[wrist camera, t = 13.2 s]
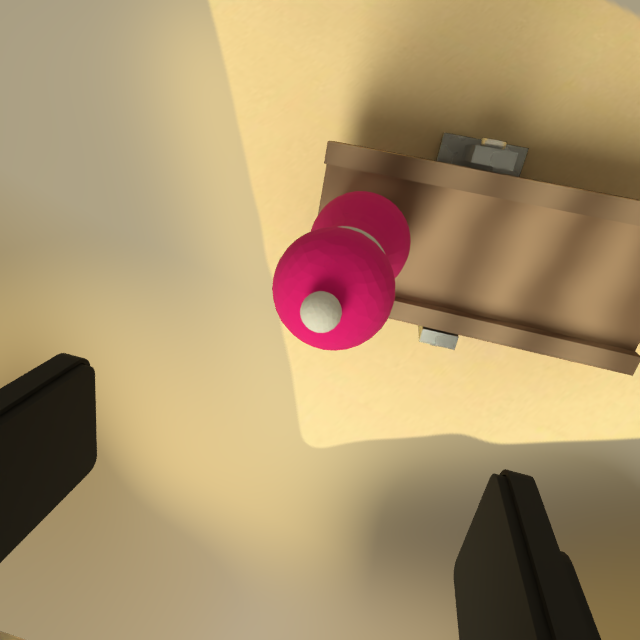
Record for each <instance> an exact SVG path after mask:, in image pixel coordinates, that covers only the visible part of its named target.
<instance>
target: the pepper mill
mask: <svg viewBox="0 0 640 640" xmlns="http://www.w3.org/2000/svg"><path fill="white" fill-rule="evenodd" d="M410 245H411V238H410V231H409V226H408V224H407V221H406V219H405V217H404V215H403V214H402V212H401V211H400V210H399V208H398V207H397V206H396V205H395V204H394V203H392V202H391V201H390V200H388V199H387V198H385V197H384V196H381V195H379V194H376V193H372V192H367V191H354V192H349V193H345V194H343V195H341V196H338V197H336V198H335V199H333V200H332V201H330V202H329V203H328V204H327V205H326V206H325V207H324V208H323V209H322V211H321V212H320V213H319V215H318V216H317V218H316V220H315V222H314V224H313V226H312V229H311V232H309V233H307V234H305V235H303V236H301V237H300V238H298V239H297V240H296V241H295V242H294V243H292V244H291V245H290V246H289V247H288V248H287V250H286V251H285V253H284V254H283V256H282V257H281V259H280V260H279V263H278V265H277V267H276V270H275V274H274V278H273V287H272V290H273V299H274V303H275V307H276V311H277V313H278V315H279V317H280V319H281V321H282V322H283V323H284V325H285V326H286V327H287V329H288V330H289V331H290V332H291V333H292V334H293V335H294V336H296V337H297V338H298V339H300V340H301V341H302V342H304V343H306V344H309V345H311V346H313V347H316V348H320V349H323V350H344V349H349V348H352V347H355V346H358V345H360V344H362V343H363V342H365V341H367V340H369V339H370V338H372V337H373V336H374V335H375V334H376V333H377V332H378V331H379V330H380V329H381V328H382V326H383V325H384V324H385V322H386V321H387V319H388V317H389V315H390V313H391V310H392V307H393V304H394V301H395V278H396V277H397V276H398V274H399V273H400V272H401V270H402V269H403V267H404V265H405V263H406V261H407V258H408V255H409V252H410Z"/></svg>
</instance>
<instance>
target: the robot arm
mask: <svg viewBox="0 0 640 640" xmlns="http://www.w3.org/2000/svg"><path fill="white" fill-rule="evenodd" d="M96 457H97V442H96V401H95V371H94V369H93V368H92V367H91V366H90V363H89V361H88V360H87V359H85V358H81V357H77V356H72V355H69V354H66V353H61V354H58V355H56V356H55V357H53V358H51V359H50V360H48V361H46V362H44V363H43V364H41V365H40V366H38V367H36V368H34V369H33V370H31V371H29V372H28V373H26V374H24V375H23V376H21V377H19V378H18V379H16V380H14V381H12V382H11V383H9V384H7V385H6V386H4V387H2V388H1V389H0V563H1V562H2V561H3V560H4V558H5V557H6V556H7V555H8V554H9V553H10V552H11V551H12V550H13V549H14V548H15V547H16V546H17V545H18V544H19V543H20V542H21V541H22V540H23V539H24V538H25V537H26V536H27V535H28V534H29V533H30V532H31V531H32V530H33V529H34V528H35V527H36V526H37V525H38V524H39V523H40V522H41V521H42V520H43V519H44V518H45V517H46V516H47V515H48V514H49V513H50V512H51V511H52V510H53V509H54V508H55V507H56V506H57V505H58V504H59V503H60V502H61V501H62V500H63V499H64V498H65V497H66V496H67V495H68V494H69V492H70V491H72V490H73V488H75V487H76V485H77V484H79V483H80V482H81V481H82V479H83V478H84V477H85V476H86V475H87V474H88V473H89V472H90V471H91V470H92V468H93V467H94V464H95V462H96V459H97V458H96ZM454 586H455V597H456V608H457V619H458V629H459V640H601V638H600V635H599V633H598V630H597V627H596V625H595V622H594V620H593V617H592V614H591V611H590V609H589V606H588V604H587V601H586V598H585V596H584V593H583V590H582V588H581V585H580V582H579V580H578V577H577V574H576V572H575V569H574V566H573V564H572V562H571V560H570V558H569V556H568V555H567V554H565V553H564V552H561V551H560V549H559V547H558V544H557V541H556V539H555V535H554V533H553V530H552V527H551V524H550V522H549V519H548V516H547V513H546V511H545V508H544V505H543V502H542V499H541V497H540V494H539V491H538V488H537V486H536V483H535V480H534V479H533V477H531V476H528V475H525V474H521V473H517V472H513V471H509V470H506V469H505V470H503V471H502V472H501V473H500V475H497V474H492V476H491V477H490V479H489V482H488V484H487V487H486V489H485V491H484V494H483V496H482V499H481V501H480V503H479V506H478V509H477V511H476V513H475V516H474V518H473V521H472V523H471V526H470V528H469V530H468V533H467V535H466V537H465V540H464V543H463V545H462V547H461V550H460V552H459V555H458V557H457V559H456V562H455V567H454ZM0 640H25V639H23V638H19V637H17V636H14V635H10V634H8V633H4V632H2V631H0Z"/></svg>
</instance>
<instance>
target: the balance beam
mask: <svg viewBox="0 0 640 640" xmlns="http://www.w3.org/2000/svg"><path fill="white" fill-rule="evenodd" d="M324 163H325V164H327V165H326V171H325V177H324V183H323V189H322V195H321V200H320V206H319V212H318V215H319V213H320V212H321V211H322V209H323V208H324V207H325V206H326V205H327V204H328V203H329V202H330V201H332V200H333V199H335V198H336V197H338V196H341V195H343V194H345V193H349V192H354V191H367V192H372V193H376V194H379V195H381V196H384V197H385V198H387V199H388V200H390V201H391V202H392V203H394V204H395V205H396V206H397V207H398V208H399V210H400V211H401V212H402V214H403V215H404V217H405V219H406V221H407V224H408V226H409V231H410V238H411V245H410V252H409V255H408V258H407V261H406V263H405V265H404V267H403V269H402V270H401V272H400V273H399V274H398V276H397V277H396V278H395V301H394V304H393V307H392V310H391V313H390V315H389V317H388V318H390V319H394V320H398V321H402V322H407V323H411V324H415V325H419V326H424V327H428V328H432V329H436V330H441V331H445V332H449V333H453V334H458V335H462V336H466V337H470V338H475V339H479V340H483V341H487V342H492V343H496V344H500V345H505V346H509V347H513V348H517V349H522V350H526V351H530V352H534V353H539V354H543V355H547V356H551V357H556V358H560V359H564V360H568V361H573V362H577V363H581V364H585V365H590V366H594V367H598V368H602V369H607V370H611V371H615V372H620V373H624V374H628V375H632V376H633V374H634V372H635V370H636V368H637V366H638V364H639V363H640V356H639V355H638V354H637V353H636V352H635V350H636V348H637V346H638V344H639V342H640V200H636V199H631V198H626V197H620V196H615V195H610V194H605V193H600V192H595V191H589V190H584V189H579V188H574V187H569V186H563V185H558V184H553V183H548V182H543V181H538V180H532V179H527V178H522V177H517V176H512V175H506V174H501V173H496V172H491V171H486V170H480V169H475V168H470V167H465V166H460V165H455V164H449V163H444V162H439V161H434V160H429V159H423V158H418V157H413V156H408V155H403V154H397V153H392V152H387V151H382V150H377V149H372V148H366V147H361V146H356V145H351V144H346V143H340V142H335V141H328V143H327V149H326V155H325V161H324Z"/></svg>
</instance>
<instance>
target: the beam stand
mask: <svg viewBox="0 0 640 640" xmlns="http://www.w3.org/2000/svg"><path fill="white" fill-rule="evenodd" d="M528 149H529V148H524V147H518V146H513V145H508V144H507V142H504V141H499V140H494V139H488V138H482V140H481V139H475V138H470V137H465V136H459V135H454V134H448V133H443V137H442V141H441V145H440V149H439V152H438V156H437V160H436V161H439V162H444V163H449V164H455V165H460V166H465V167H470V168H475V169H480V170H486V171H491V172H496V173H501V174H506V175H512V176H517V177H519V176H520V173H521V170H522V167H523V164H524V161H525V158H526V155H527V152H528ZM418 327H419V342H423V343H428V344H430V345H433V346H440V347H445V348H449V349H453V350H455V347H456V343H457V340H458V334H453V333H449V332H445V331H441V330H436V329H432V328H428V327H424V326H419V325H418Z"/></svg>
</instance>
